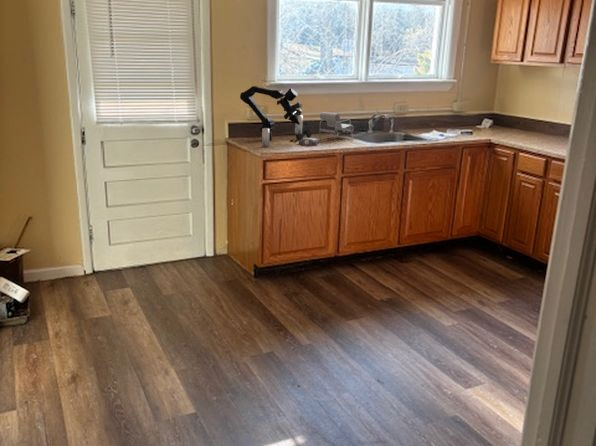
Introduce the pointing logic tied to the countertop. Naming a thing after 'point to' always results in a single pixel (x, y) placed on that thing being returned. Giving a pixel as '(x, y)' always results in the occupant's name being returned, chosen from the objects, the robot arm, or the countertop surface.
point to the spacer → (265, 137)
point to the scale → (309, 141)
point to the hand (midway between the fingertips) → (300, 123)
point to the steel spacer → (299, 127)
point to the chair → (334, 123)
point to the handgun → (304, 132)
